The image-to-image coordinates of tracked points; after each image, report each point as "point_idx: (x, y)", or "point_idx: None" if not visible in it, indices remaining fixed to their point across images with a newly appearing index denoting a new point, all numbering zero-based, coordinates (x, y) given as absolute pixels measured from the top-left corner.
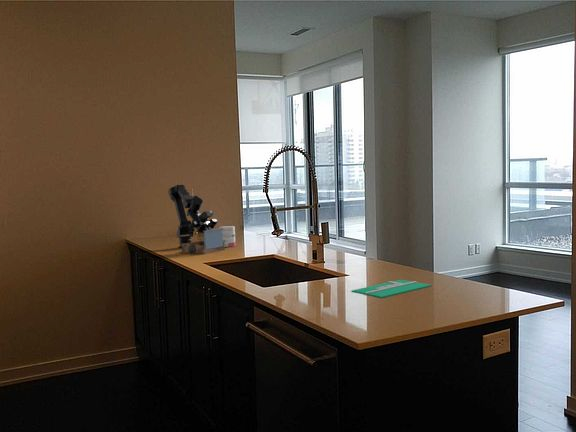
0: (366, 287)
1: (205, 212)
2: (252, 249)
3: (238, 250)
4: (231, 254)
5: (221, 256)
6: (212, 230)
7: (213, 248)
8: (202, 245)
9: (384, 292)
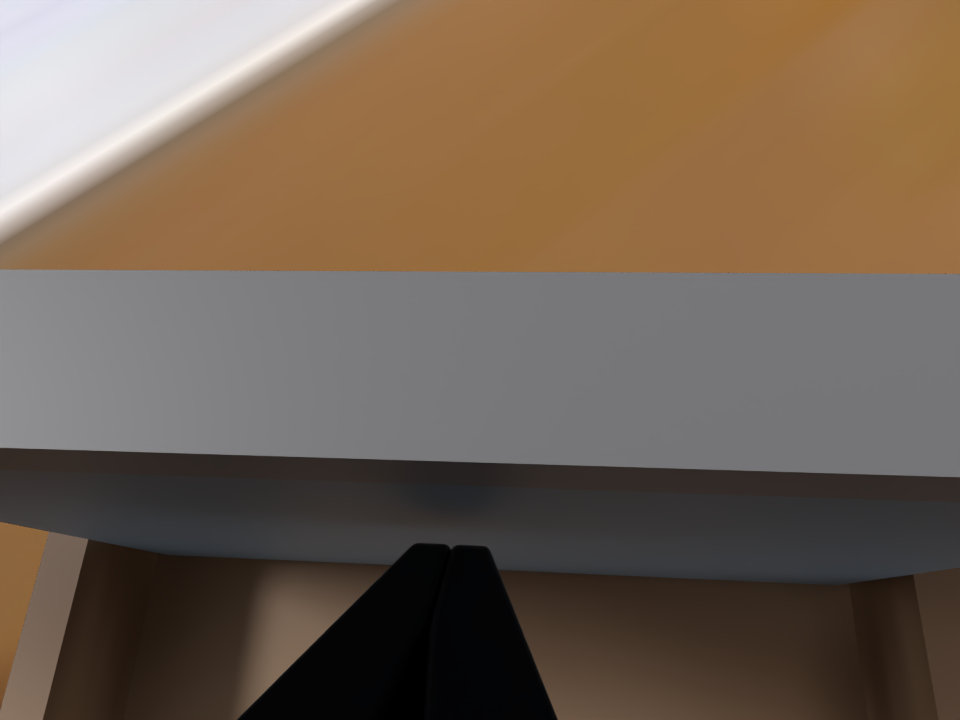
0: None
1: None
2: (59, 78)
3: (199, 206)
4: (628, 41)
5: (876, 45)
6: (558, 294)
7: None
8: (951, 618)
9: None
